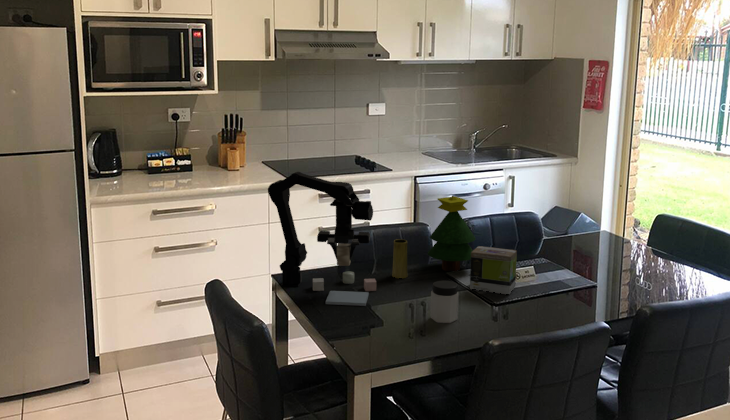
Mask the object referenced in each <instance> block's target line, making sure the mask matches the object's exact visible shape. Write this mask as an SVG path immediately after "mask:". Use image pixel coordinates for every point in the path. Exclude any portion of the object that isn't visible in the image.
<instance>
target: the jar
mask: <svg viewBox="0 0 730 420" xmlns="http://www.w3.org/2000/svg"><path fill="white" fill-rule="evenodd" d="M431 287H432V290H431V291H430V315H429V317H430V318H431V319H432V320H433V321H434V322H435V323H441V324H452V323H453V322H455V321H457V320H458V316H459V315H458V313H459V311H458V310H459V292H458V284H457V283H456V282H454V281H451V280H436V281H434V282H433V283H432V286H431Z"/></svg>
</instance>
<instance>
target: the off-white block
mask: <svg viewBox="0 0 730 420" xmlns="http://www.w3.org/2000/svg"><path fill="white" fill-rule="evenodd" d="M324 285H325V280H324V278H323V277H322V278H321V277H320V278H312V291H317V292H321V291H325V286H324Z"/></svg>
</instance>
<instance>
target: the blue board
mask: <svg viewBox="0 0 730 420" xmlns="http://www.w3.org/2000/svg"><path fill="white" fill-rule="evenodd" d="M369 292H370V291H344V290H330V291H329V292H328V295H327V297H326V300H325V305H339V306H341V305H342V306H361V307H366V305H367V301H368V298H369V295H370V293H369Z"/></svg>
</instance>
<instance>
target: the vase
mask: <svg viewBox="0 0 730 420" xmlns="http://www.w3.org/2000/svg"><path fill="white" fill-rule="evenodd" d="M392 251H393V254H392V255H393V256H392V272H391V273H392V274H391V276H392V277H393V278H394V277H395V279H399V278H402V279H406V278H408V276H409V274H408V240H406V239H402V238H401V239H400V238H398V239H394V240H393V250H392Z"/></svg>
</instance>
